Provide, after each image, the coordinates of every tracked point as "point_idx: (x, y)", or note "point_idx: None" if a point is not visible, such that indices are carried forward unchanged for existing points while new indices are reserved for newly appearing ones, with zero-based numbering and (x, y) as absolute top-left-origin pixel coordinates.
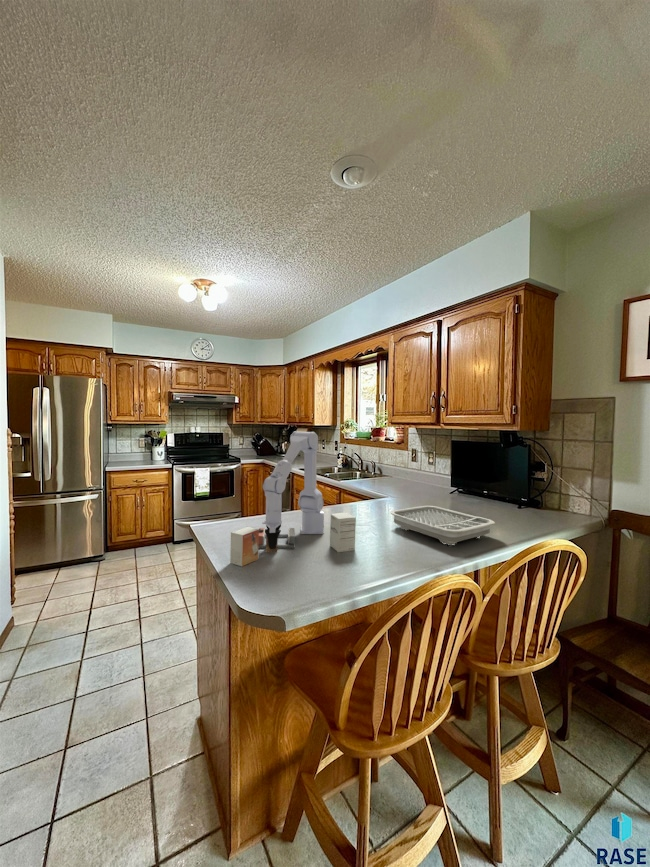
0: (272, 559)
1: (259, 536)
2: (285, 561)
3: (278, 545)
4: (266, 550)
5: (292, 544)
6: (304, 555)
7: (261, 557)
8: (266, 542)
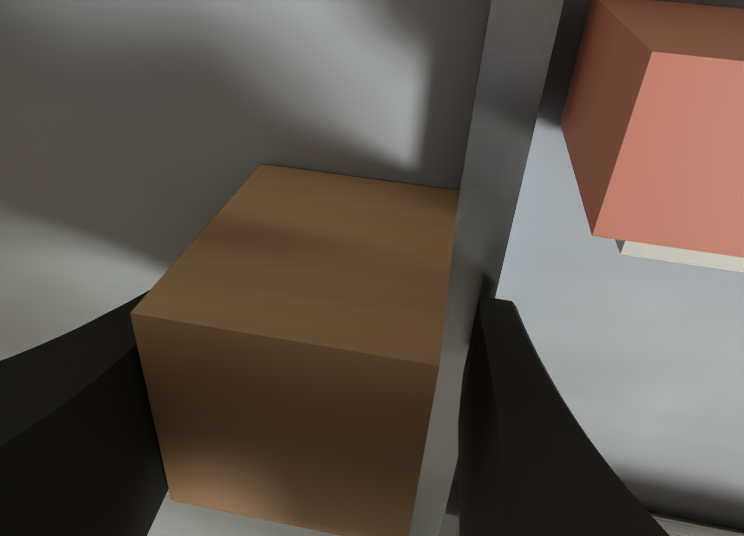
0: (19, 230)
1: (625, 128)
2: (4, 353)
3: (435, 388)
4: (247, 187)
5: (457, 529)
6: (192, 522)
7: (49, 76)
8: (177, 265)
